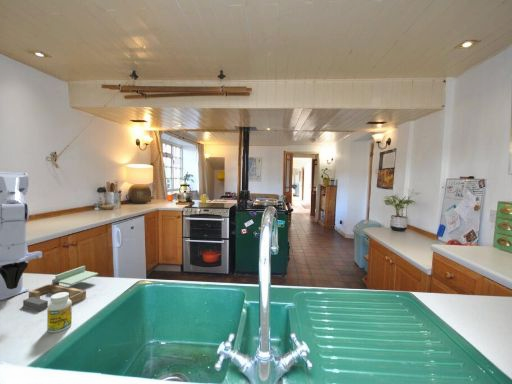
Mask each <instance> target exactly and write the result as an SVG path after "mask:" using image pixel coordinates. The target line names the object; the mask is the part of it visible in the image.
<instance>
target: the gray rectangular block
mask: <svg viewBox="0 0 512 384" xmlns="http://www.w3.org/2000/svg"><path fill="white" fill-rule="evenodd" d="M48 303H49V302H48V300H45V299H41V298H40V299H38V298H34V297H30V298H29V297H28V298H26V299H25V298H24V299H23V301H22V307H24V308H27V309H30V310H33V311H38V312H40V311H43V310H46V309H47V308H48V305H49V304H48Z"/></svg>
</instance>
